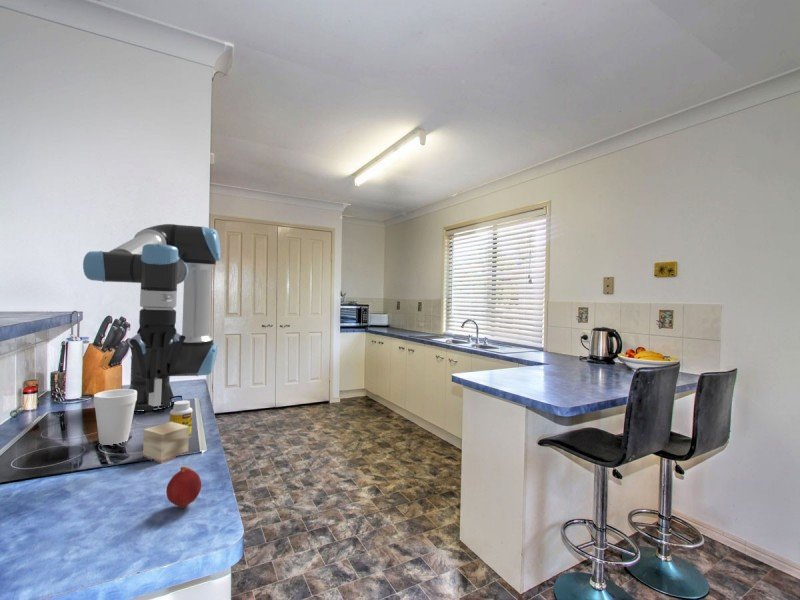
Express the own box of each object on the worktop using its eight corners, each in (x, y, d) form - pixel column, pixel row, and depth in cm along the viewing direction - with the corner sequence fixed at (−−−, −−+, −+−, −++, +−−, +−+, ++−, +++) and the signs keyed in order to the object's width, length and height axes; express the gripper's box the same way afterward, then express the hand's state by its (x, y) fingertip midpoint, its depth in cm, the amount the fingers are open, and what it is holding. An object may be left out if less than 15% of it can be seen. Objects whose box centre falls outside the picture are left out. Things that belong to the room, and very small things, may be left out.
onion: (179, 497, 77) (181, 458, 77) (206, 500, 76) (208, 460, 76) (158, 513, 71) (160, 470, 71) (187, 517, 70) (189, 473, 70)
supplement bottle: (181, 443, 104) (183, 405, 104) (163, 441, 105) (165, 403, 105) (196, 436, 109) (197, 400, 109) (179, 434, 110) (180, 398, 110)
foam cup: (111, 449, 98) (113, 399, 98) (82, 445, 100) (84, 395, 100) (143, 437, 107) (145, 390, 107) (116, 433, 109) (118, 387, 109)
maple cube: (144, 429, 94) (142, 457, 94) (162, 434, 91) (161, 463, 91) (171, 421, 101) (170, 448, 101) (189, 426, 98) (188, 453, 98)
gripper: (137, 309, 85) (133, 414, 86) (193, 309, 97) (189, 401, 97) (120, 307, 89) (116, 408, 89) (176, 307, 100) (173, 396, 101)
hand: (154, 404), depth 93 cm, fingers closed
